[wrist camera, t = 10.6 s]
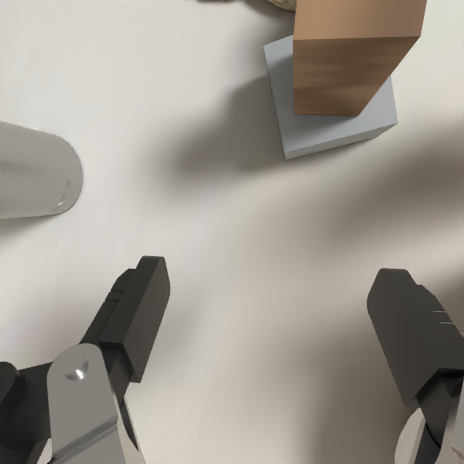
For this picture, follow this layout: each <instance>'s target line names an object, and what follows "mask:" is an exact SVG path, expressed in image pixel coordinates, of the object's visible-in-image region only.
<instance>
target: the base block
mask: <svg viewBox="0 0 464 464" xmlns="http://www.w3.org/2000/svg"><path fill="white" fill-rule="evenodd" d="M263 48H264V53H265V58H266V63H267V68H268V73H269V78H270V84H271V89H272V94H273V99H274V104H275V109H276V114H277V119H278V124H279V129H280V134H281V139H282V144H283V149H284V154H285V159H286V160H288V159H292V158H296V157H300V156H304V155H308V154H312V153H315V152H319V151H323V150H327V149H331V148H335V147H339V146H343V145H347V144H351V143H355V142H359V141H363V140H367V139H371V138H375V137H378V136H379V135H381V134H382V133H384V132H385V131H387V130H388V129H390V128H391V127H393V126H394V125H396V124H397V123H398V120H397V113H396V107H395V101H394V95H393V88H392V82H391V76H389V77H388V79H387V80H386V81H385V82H384V84H383V85H382V86H381V88H380V89H379V90H378V91H377V93H376V94H375V95H374V97H373V98H372V99H371V100H370V102H369V103H368V104H367V106H366V107H365V108H364V109H363V111H362V112H361V113H360V115H359V116H330V115H296V114H294V80H293V35H291V36H288V37H285V38H283V39H280V40H277V41H274V42H272V43H269V44H266V45H263Z"/></svg>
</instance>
